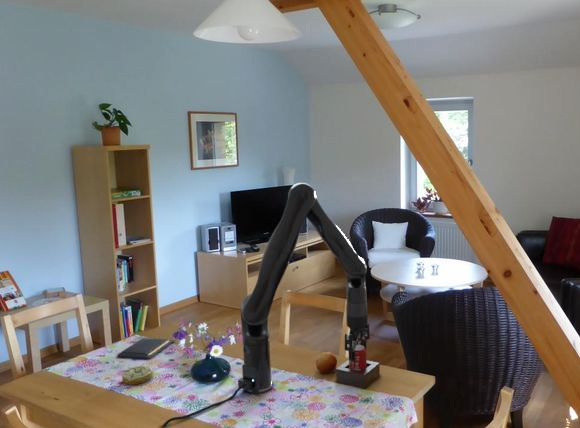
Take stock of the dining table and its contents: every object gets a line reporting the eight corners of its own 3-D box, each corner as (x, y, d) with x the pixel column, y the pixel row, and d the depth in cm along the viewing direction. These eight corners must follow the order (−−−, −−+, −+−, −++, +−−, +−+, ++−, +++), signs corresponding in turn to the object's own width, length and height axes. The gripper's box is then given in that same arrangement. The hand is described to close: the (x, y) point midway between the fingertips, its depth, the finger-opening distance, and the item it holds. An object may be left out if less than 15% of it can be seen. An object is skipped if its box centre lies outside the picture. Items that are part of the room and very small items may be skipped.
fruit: (341, 371, 209) (330, 353, 208) (323, 381, 209) (312, 364, 208) (342, 362, 217) (331, 345, 216) (325, 372, 217) (313, 355, 216)
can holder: (364, 388, 197) (364, 375, 197) (336, 382, 203) (335, 368, 202) (379, 375, 207) (379, 362, 207) (352, 370, 213) (351, 357, 212)
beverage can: (369, 376, 207) (369, 345, 205) (362, 384, 201) (362, 351, 199) (353, 374, 209) (353, 343, 208) (346, 381, 204) (345, 349, 202)
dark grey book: (143, 335, 249) (174, 337, 245) (143, 339, 249) (175, 341, 246) (114, 352, 230) (148, 355, 226) (115, 357, 230) (148, 360, 226)
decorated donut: (117, 380, 209) (116, 370, 208) (145, 371, 216) (144, 361, 216) (129, 388, 201) (128, 378, 201) (158, 378, 209) (157, 369, 208)
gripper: (357, 306, 210) (358, 348, 212) (337, 317, 197) (338, 361, 200) (375, 308, 206) (376, 351, 208) (356, 320, 194) (357, 365, 196)
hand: (357, 356), depth 204 cm, fingers open, 8 cm apart
